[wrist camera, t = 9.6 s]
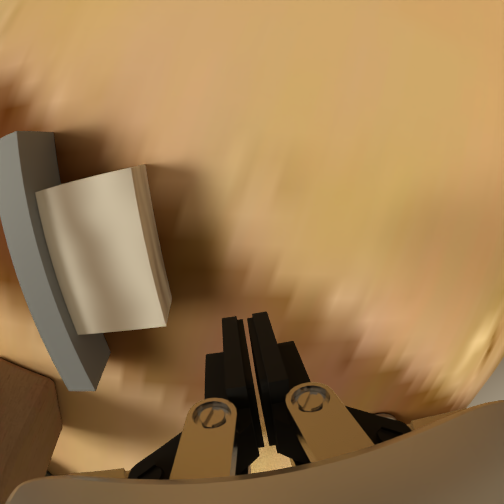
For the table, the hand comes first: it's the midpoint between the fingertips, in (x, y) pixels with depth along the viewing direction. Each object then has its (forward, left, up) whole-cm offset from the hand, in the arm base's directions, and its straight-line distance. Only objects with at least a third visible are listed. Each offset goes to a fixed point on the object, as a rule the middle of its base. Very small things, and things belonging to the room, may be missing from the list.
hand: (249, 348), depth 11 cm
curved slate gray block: (+15, -1, -16) cm, 22 cm away
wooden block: (+29, +16, -16) cm, 37 cm away
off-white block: (+10, -1, -16) cm, 19 cm away
